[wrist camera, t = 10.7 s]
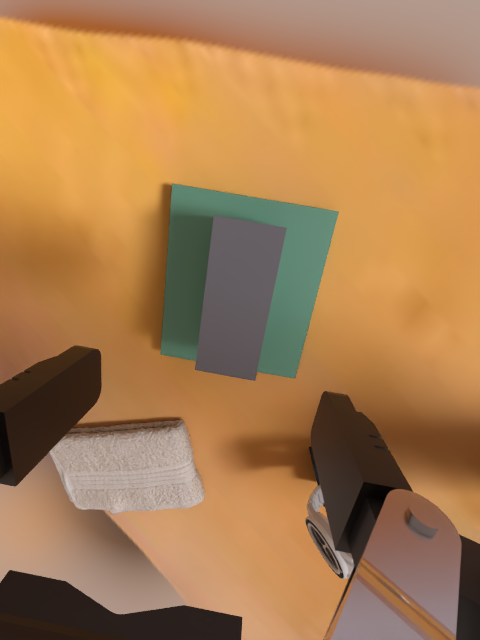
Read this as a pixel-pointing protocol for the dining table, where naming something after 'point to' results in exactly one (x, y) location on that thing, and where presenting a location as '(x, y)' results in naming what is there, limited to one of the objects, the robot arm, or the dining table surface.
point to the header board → (291, 283)
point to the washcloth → (129, 467)
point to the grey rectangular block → (238, 295)
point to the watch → (325, 533)
